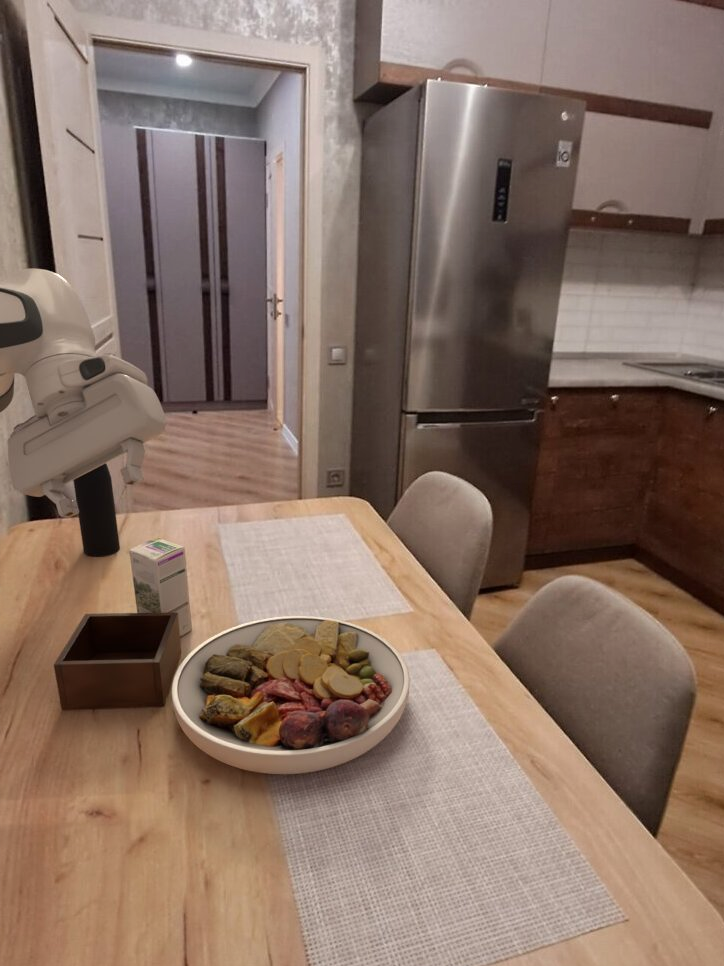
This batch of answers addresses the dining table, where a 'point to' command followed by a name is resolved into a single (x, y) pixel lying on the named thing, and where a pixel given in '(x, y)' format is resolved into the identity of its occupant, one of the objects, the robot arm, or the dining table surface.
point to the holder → (119, 661)
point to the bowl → (290, 694)
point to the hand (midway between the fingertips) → (101, 499)
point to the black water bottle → (97, 512)
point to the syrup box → (161, 580)
